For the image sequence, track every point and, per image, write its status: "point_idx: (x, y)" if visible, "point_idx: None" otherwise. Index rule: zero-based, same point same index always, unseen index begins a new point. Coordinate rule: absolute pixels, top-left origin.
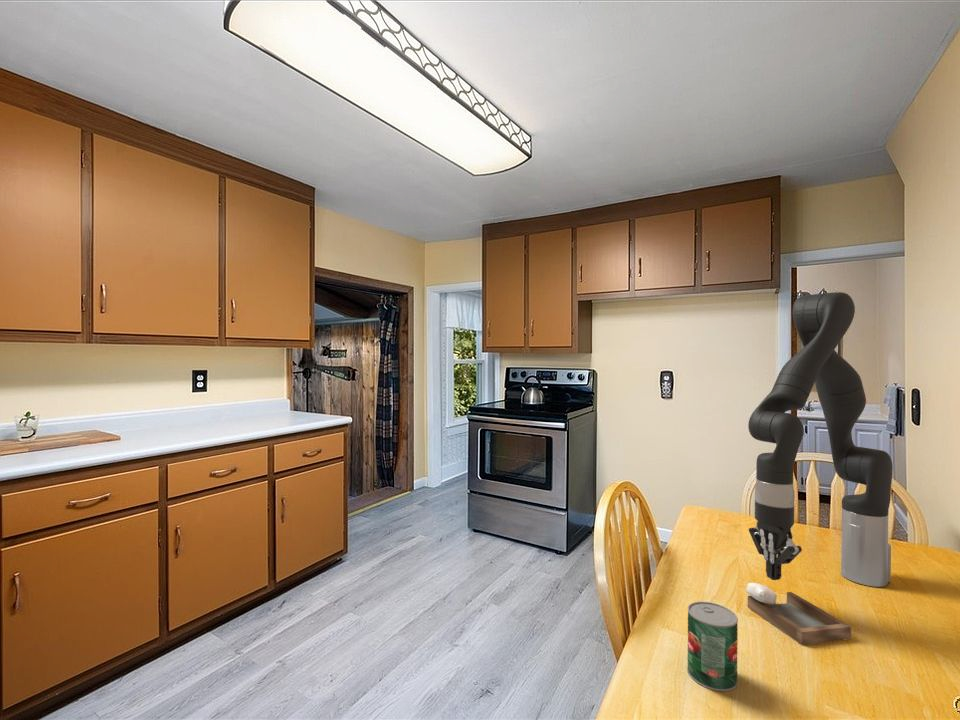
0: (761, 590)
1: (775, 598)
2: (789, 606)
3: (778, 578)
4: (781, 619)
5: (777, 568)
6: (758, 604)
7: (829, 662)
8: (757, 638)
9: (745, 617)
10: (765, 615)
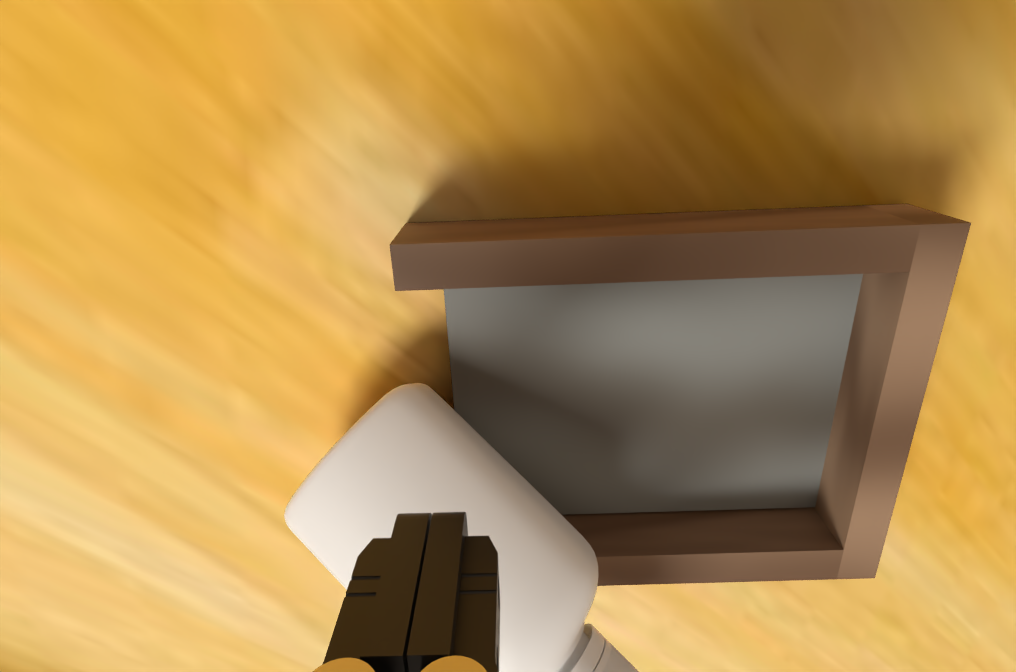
0: None
1: (597, 568)
2: (490, 315)
3: (464, 527)
4: (718, 577)
5: (498, 669)
6: None
7: (989, 506)
8: (717, 659)
9: None
10: None
